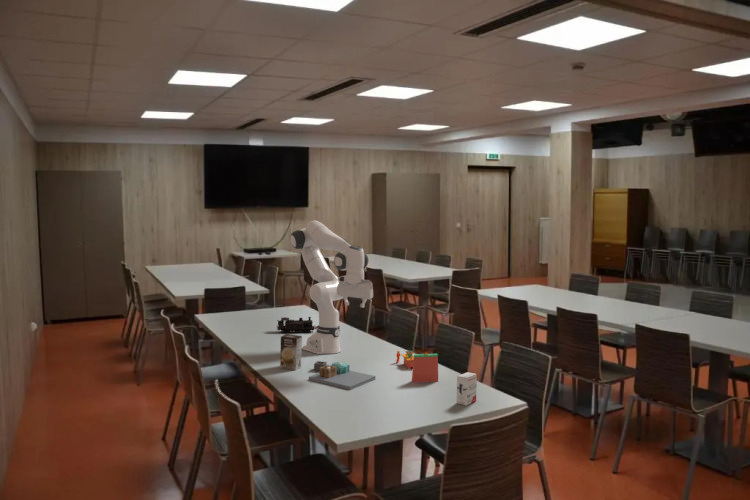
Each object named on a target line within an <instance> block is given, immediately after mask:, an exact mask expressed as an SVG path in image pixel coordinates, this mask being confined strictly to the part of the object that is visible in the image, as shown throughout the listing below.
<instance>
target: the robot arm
mask: <svg viewBox="0 0 750 500" xmlns="http://www.w3.org/2000/svg"><path fill="white" fill-rule="evenodd" d="M289 238H290V239H289V240H290V243H291V246H292V247H293V248H294V249H296V250H301V255H302V257H301V258H302V260H303V262H304V265H305V267H306V269H307V271H308V273H309V276H310V277H311V278H312V279H313V280H314V281H316V282H317V283H314V284H312V285H311V286H310V288H309V292H308V293H309V297H310V299H311V300H312V302H314V303H315V305H316V307H317V311H318V325H317V326H316V325H315V326H316V328H315V329H314V330H315V332H313V333H312V334H311V335H310V336H308V338H307V340H306V344H305V345H303V346H302V350H304V351H307V352H310V353H314V354H317V355H323V354H324V355H327V354H331V355H332V354H338V353H341V352H342V347H341V343H340V332H341V330H340V329H341V327H340V312H339V310H338V309H337V308H336V307H335V306H334V302H335V301H340V300H343V301H344V305H345V306H350V301H348V298H357V299H361V301H362V303H360V304H359V307H360V308H363V309H364V308H365V307H366V306H365V304H366V302H367V301H368V300H372V299H373V298H374V289H373V288H374V287H373V286H374V285H373V282H372V281H371V279H370V280H369V279H365V269H366V267H367V266H368V264H369V256H368V254H367V253H366V252H365V250H364V248H363V247H361V246H358V245H352V243H351V242H349V241H348V240H347V239H345V238H343V237H341V236H339V235H338V234H336V233H335V232H334V231H332V230H330V228H328V227H327V226H326V225H325V224H324V223H322V222H321V221H319V220H315V219H314V220H311V221H309V222H308V223H307V224H306V227H304V228H300V229H296V230H295V231H292V233H291V234H290V236H289ZM321 249H322V250H325V251H327V250H328V251H338V252H337V253H336V254H335V256H334V258H333V262H334V266H335V268H336V269H337V270H339V271H346V273H345V275H341V276H339V277H338V276H337V275H336V274H335V272H333V271H332V269H331V268H330V266H329V265H328V263H327V261H326V259H325V257H324V255H323V254H322V252H321Z"/></svg>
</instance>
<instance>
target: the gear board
mask: <svg viewBox="0 0 750 500" xmlns="http://www.w3.org/2000/svg"><path fill="white" fill-rule="evenodd" d="M329 365H330V366H335V367H337V375H336V376H333V377H331V378H327V377H322V376H320V372H318V373H315V374H313V375H310V376H308V381H312V382H316V383H320V384H324V385H328V386H333V387H336V388H340V389H345V390H348V391H351V390H353V389H355V388H358V387H360V386H363V385H365V384H368V383H370V382H373V381H375V380H376V375H371V374H368V373H363V372H359V371H353V370H350V364H348V363H346V362H342V361H340V362H339V361H337V362H333V363H332V364H329ZM326 368H328V369H329V368H330V367H326Z"/></svg>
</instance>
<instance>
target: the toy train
mask: <svg viewBox="0 0 750 500" xmlns="http://www.w3.org/2000/svg"><path fill="white" fill-rule="evenodd" d="M311 318H312V317H311V316H308V319H304V320H303V317H299V318H298V319H297V320H295V319H290V317H286V316H285V317H281V318H280V320H279V319H277V320H276V321H277V326H276V330H277V331H279V332H280V333H283V334H288V333H294V334H299V333H305V334H309V333H312V334H314V332H313V331H315V330H316V329H315V328H316V325H313V320H312V319H311Z"/></svg>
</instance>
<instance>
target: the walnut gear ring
mask: <svg viewBox="0 0 750 500" xmlns="http://www.w3.org/2000/svg"><path fill="white" fill-rule="evenodd" d="M330 365H331V364H327V365H326V366H323V367H320V371H319V373H320V376H322V377H327V378H331V377H333V376H336V375H337V367H335V366H330ZM326 367H330V368H329V369H328V368H326Z"/></svg>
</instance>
